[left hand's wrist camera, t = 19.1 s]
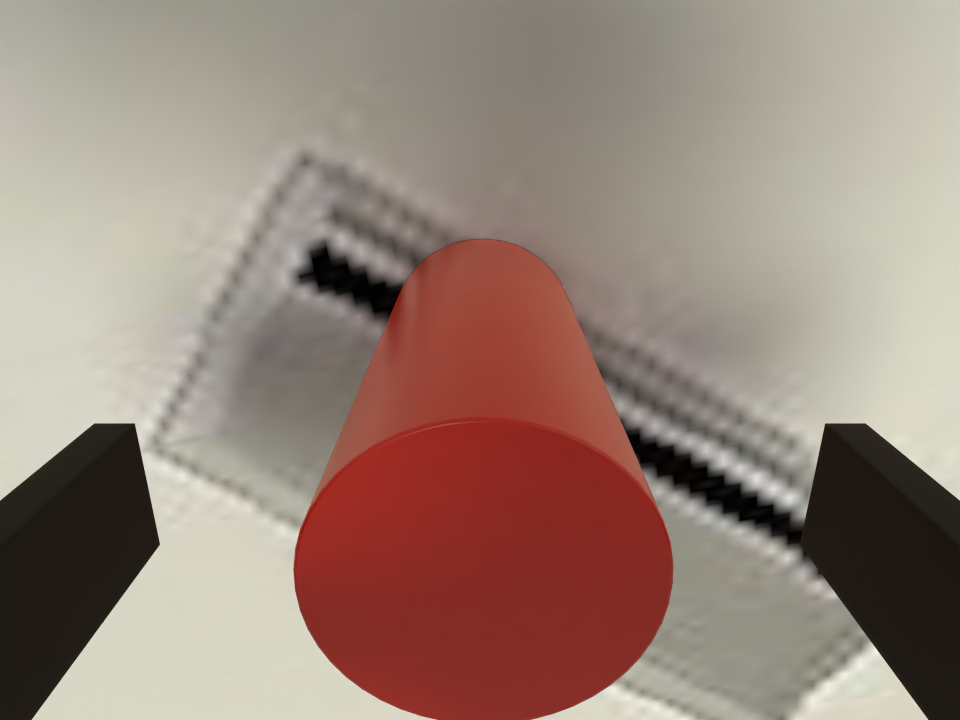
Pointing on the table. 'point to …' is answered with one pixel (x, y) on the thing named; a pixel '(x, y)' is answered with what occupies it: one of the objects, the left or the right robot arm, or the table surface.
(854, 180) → the table surface
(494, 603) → the canister
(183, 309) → the table surface
